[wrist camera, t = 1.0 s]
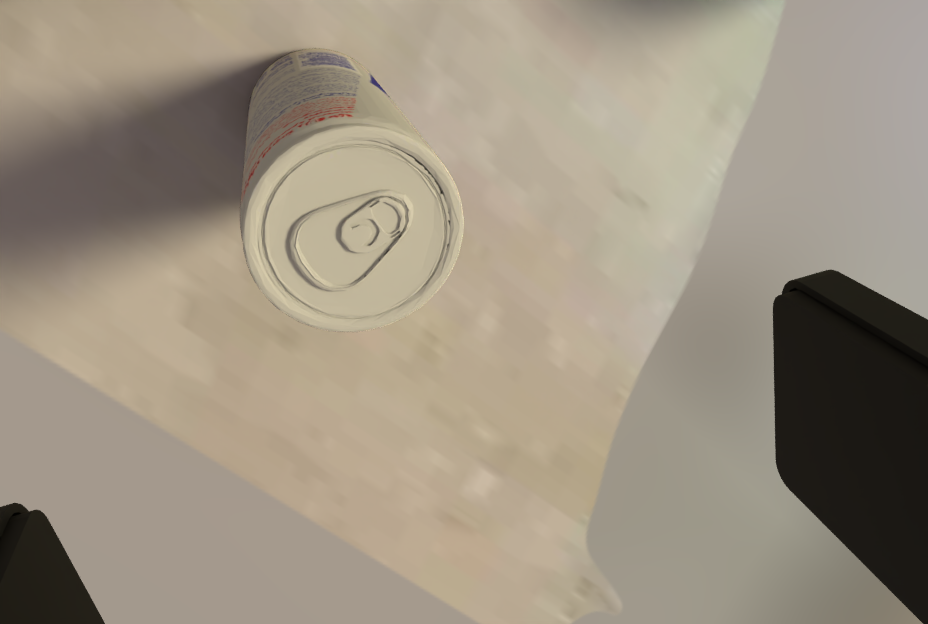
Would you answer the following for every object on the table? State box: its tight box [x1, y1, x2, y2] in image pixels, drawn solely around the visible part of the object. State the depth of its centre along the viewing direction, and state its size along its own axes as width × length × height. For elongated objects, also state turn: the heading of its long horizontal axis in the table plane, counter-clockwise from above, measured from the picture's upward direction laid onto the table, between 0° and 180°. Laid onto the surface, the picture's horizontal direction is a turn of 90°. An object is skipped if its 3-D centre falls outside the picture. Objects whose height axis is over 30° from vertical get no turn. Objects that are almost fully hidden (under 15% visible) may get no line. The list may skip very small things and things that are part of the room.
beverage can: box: [240, 48, 464, 332], centre depth 26 cm, size 6×6×15 cm
